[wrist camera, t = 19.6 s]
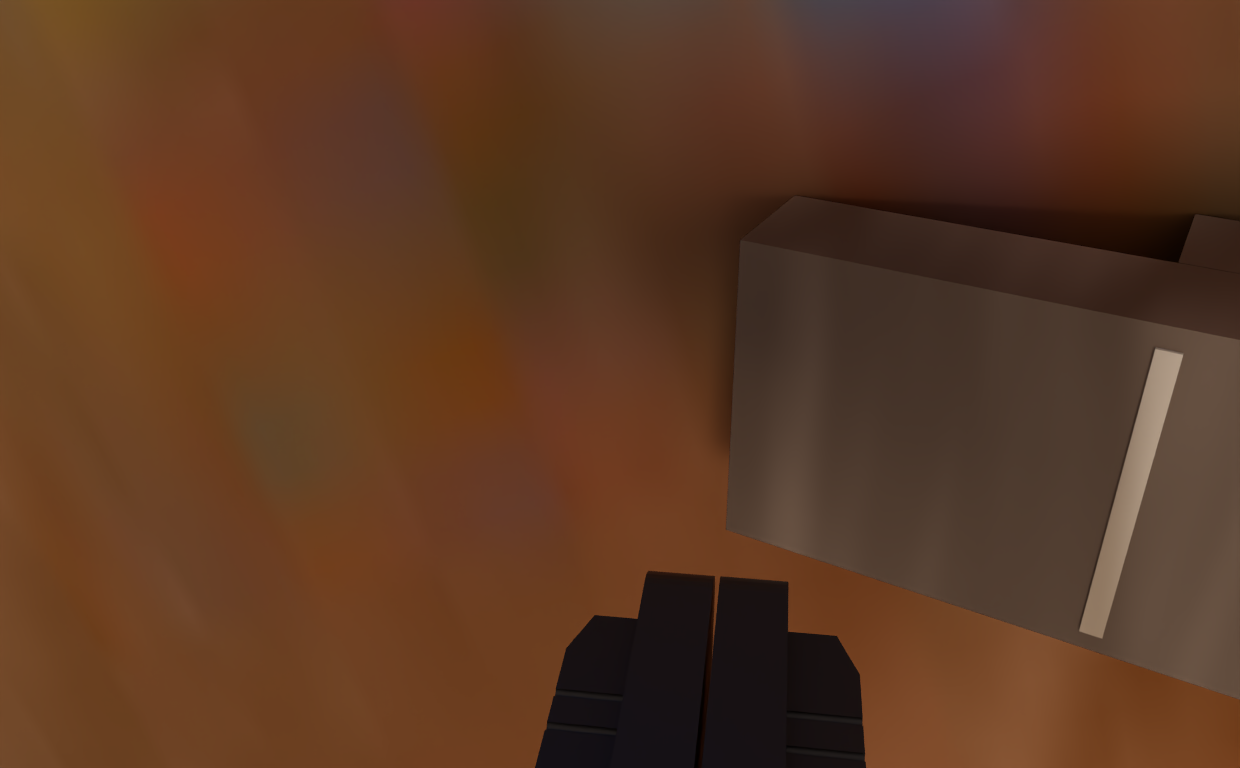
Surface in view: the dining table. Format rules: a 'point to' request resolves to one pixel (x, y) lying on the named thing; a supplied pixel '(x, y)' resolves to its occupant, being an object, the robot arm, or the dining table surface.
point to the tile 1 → (997, 427)
